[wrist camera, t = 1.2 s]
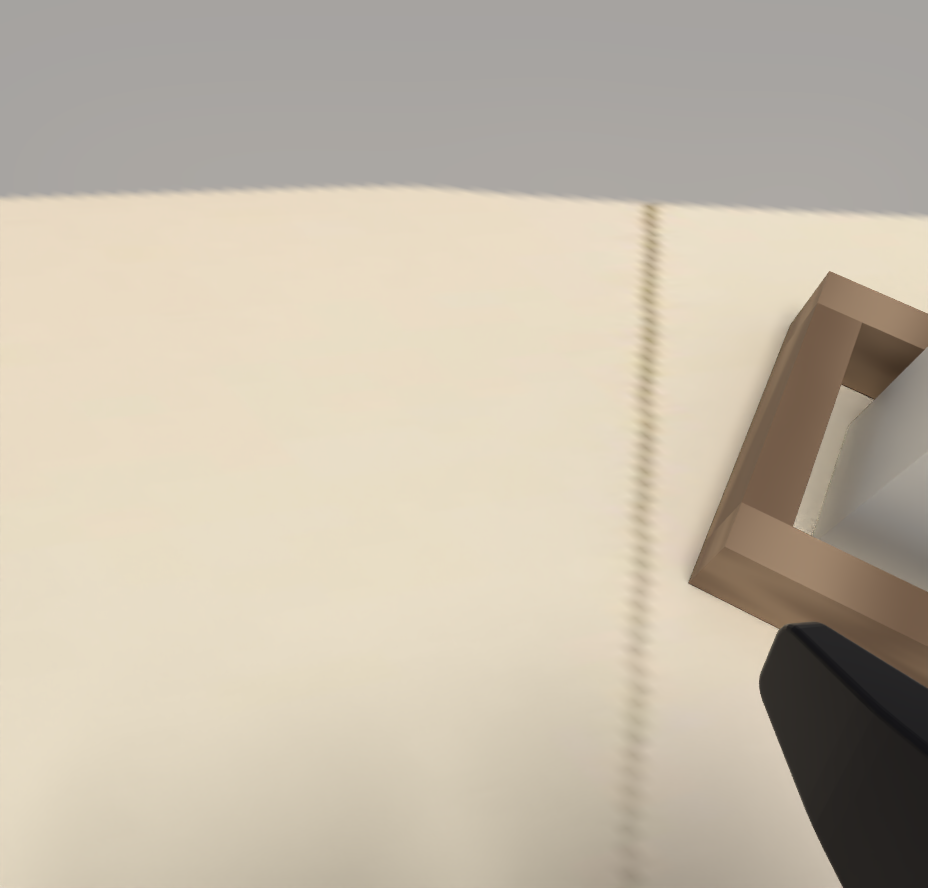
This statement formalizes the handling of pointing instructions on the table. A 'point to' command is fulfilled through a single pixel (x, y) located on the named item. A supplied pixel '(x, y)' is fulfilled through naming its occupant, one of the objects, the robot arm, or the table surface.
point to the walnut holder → (787, 473)
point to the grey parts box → (884, 482)
